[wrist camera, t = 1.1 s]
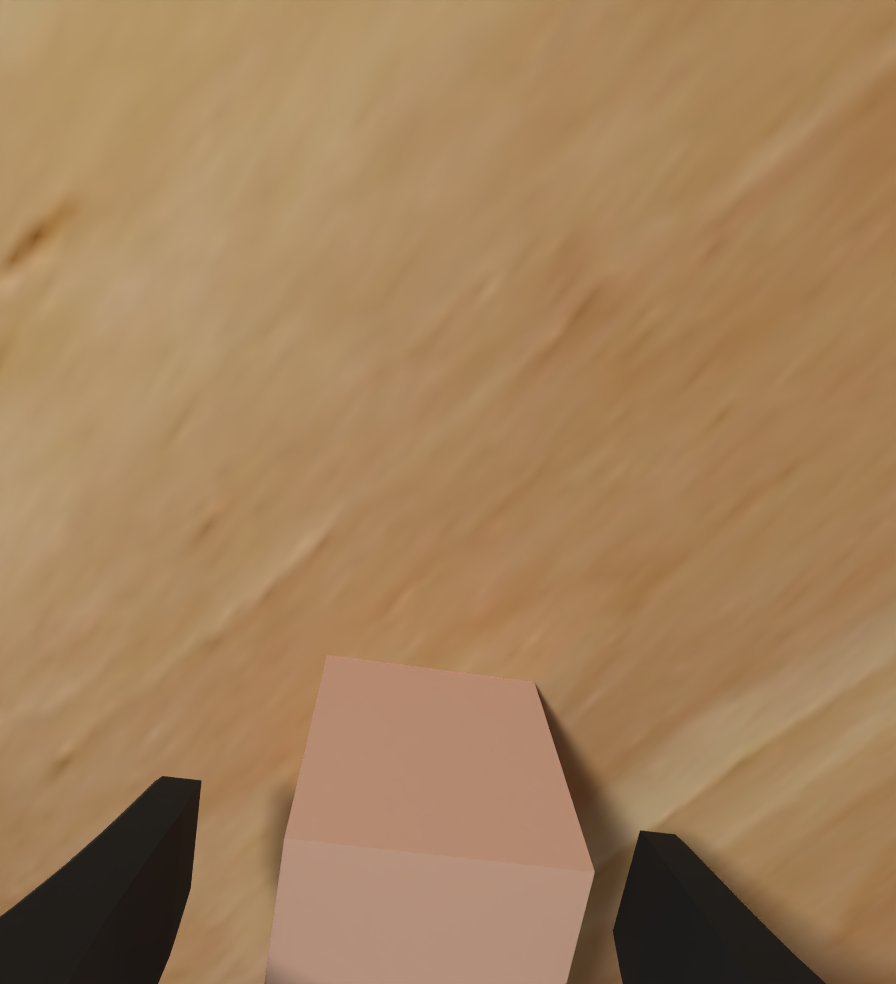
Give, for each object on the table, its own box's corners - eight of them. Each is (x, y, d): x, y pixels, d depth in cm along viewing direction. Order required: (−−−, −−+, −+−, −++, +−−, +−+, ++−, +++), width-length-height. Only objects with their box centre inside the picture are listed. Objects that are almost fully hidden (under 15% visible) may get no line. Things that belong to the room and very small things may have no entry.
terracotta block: (496, 854, 16) (534, 1107, 11) (302, 833, 15) (250, 1084, 10) (533, 681, 15) (594, 872, 10) (327, 653, 14) (284, 838, 9)
